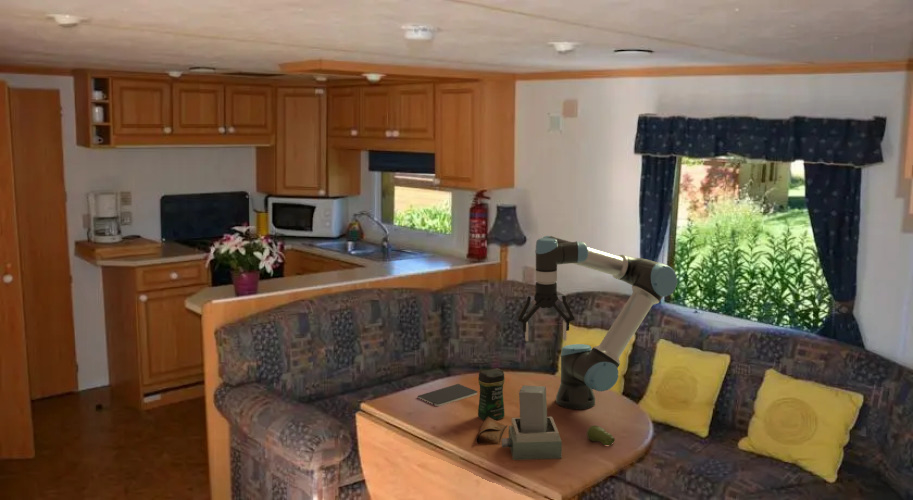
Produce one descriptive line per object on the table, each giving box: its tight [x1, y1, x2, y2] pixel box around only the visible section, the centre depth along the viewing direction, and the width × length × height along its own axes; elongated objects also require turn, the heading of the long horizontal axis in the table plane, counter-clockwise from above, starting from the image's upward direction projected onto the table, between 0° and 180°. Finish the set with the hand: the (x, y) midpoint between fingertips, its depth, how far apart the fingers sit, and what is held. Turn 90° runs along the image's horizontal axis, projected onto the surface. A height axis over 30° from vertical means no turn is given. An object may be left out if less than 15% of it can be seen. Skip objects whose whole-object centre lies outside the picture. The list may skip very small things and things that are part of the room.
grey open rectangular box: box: [501, 416, 563, 461], centre depth 272 cm, size 19×14×9 cm
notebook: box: [417, 383, 478, 407], centre depth 325 cm, size 13×2×21 cm
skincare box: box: [518, 384, 548, 433], centre depth 271 cm, size 8×7×16 cm
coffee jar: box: [477, 367, 506, 421], centre depth 301 cm, size 10×8×19 cm
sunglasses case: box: [476, 416, 508, 446], centre depth 287 cm, size 18×7×7 cm
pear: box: [586, 425, 616, 446], centre depth 279 cm, size 6×5×10 cm
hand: (545, 339), depth 291 cm, fingers open, 13 cm apart
